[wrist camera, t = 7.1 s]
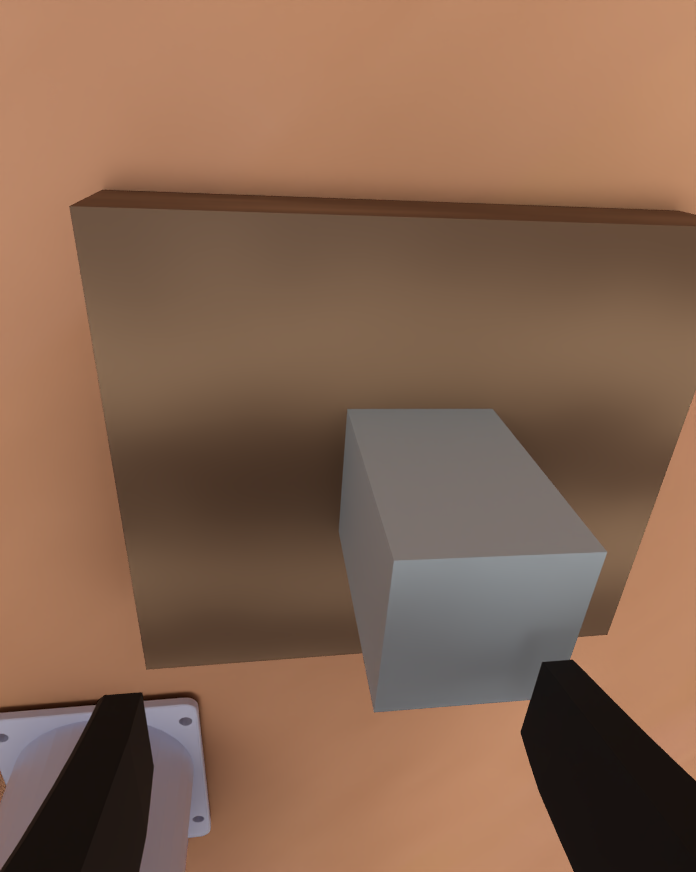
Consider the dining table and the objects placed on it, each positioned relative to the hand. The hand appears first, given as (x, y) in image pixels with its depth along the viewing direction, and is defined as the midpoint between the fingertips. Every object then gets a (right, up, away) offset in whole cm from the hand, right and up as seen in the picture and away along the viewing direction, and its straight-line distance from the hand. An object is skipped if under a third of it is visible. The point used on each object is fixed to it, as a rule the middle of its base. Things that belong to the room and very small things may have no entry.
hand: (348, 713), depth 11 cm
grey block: (+2, +4, +6) cm, 7 cm away
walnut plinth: (+1, +5, +9) cm, 10 cm away
